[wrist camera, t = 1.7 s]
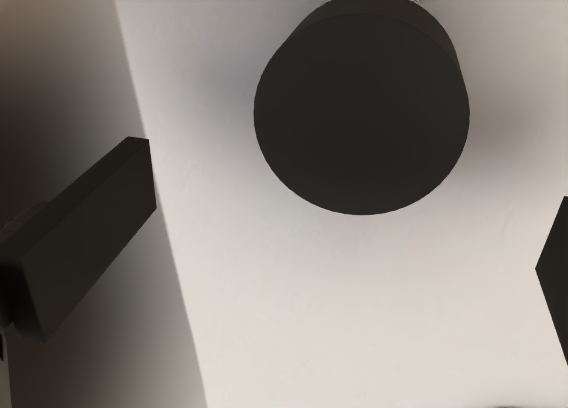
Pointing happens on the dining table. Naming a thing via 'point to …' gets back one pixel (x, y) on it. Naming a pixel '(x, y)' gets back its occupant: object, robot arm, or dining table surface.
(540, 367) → the dining table surface
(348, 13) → the puck
